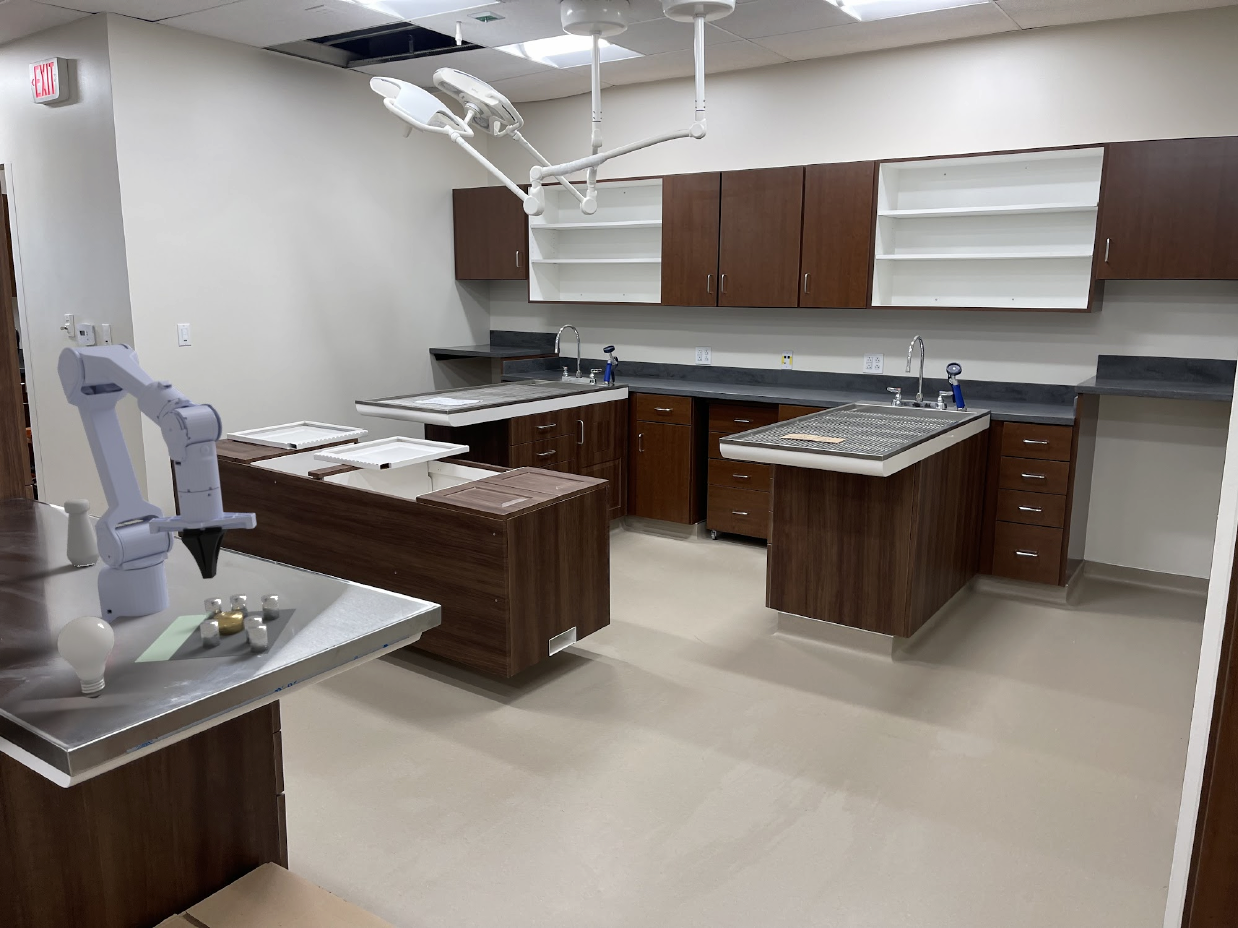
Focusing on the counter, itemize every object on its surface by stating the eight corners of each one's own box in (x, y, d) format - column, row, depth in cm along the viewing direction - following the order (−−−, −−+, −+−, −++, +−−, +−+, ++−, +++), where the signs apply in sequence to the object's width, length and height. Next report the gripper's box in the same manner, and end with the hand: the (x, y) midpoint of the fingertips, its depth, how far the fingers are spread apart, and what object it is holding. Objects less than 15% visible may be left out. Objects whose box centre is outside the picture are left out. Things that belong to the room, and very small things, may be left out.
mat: (135, 670, 126) (134, 662, 126) (180, 623, 144) (179, 616, 143) (268, 660, 128) (267, 652, 128) (297, 615, 146) (296, 608, 145)
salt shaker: (108, 562, 177) (99, 498, 174) (78, 570, 172) (68, 504, 170) (92, 558, 180) (83, 495, 177) (62, 566, 175) (52, 501, 173)
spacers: (174, 658, 127) (171, 635, 126) (211, 616, 143) (209, 595, 142) (266, 652, 128) (263, 629, 127) (292, 611, 144) (290, 590, 143)
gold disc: (211, 636, 135) (210, 621, 134) (220, 626, 138) (218, 611, 138) (239, 634, 135) (237, 619, 134) (247, 624, 139) (245, 610, 138)
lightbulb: (81, 687, 121) (69, 610, 119) (130, 684, 121) (119, 607, 119) (56, 709, 115) (43, 628, 112) (108, 706, 115) (96, 625, 113)
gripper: (136, 496, 127) (148, 588, 130) (242, 491, 129) (252, 582, 132) (154, 486, 134) (166, 573, 137) (256, 481, 136) (265, 567, 139)
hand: (209, 576), depth 135 cm, fingers closed
